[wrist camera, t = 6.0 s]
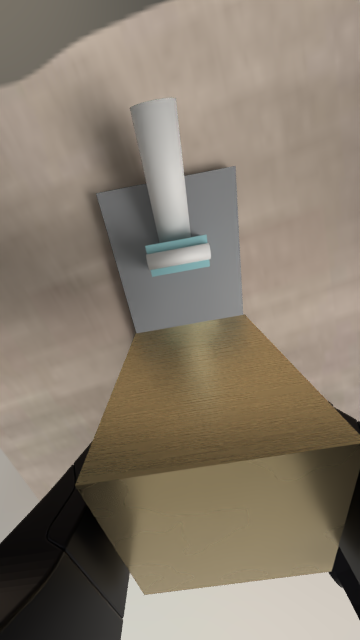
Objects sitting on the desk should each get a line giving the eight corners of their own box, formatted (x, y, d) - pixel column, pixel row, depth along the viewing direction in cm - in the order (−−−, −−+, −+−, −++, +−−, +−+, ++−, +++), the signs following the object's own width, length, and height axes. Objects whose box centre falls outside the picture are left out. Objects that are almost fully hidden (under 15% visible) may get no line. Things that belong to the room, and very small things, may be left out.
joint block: (244, 314, 9) (366, 442, 3) (248, 399, 11) (331, 571, 5) (135, 333, 9) (74, 486, 3) (159, 413, 11) (144, 595, 5)
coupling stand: (228, 118, 13) (258, 51, 9) (244, 402, 23) (263, 443, 19) (87, 147, 14) (42, 98, 9) (162, 415, 24) (160, 459, 19)
